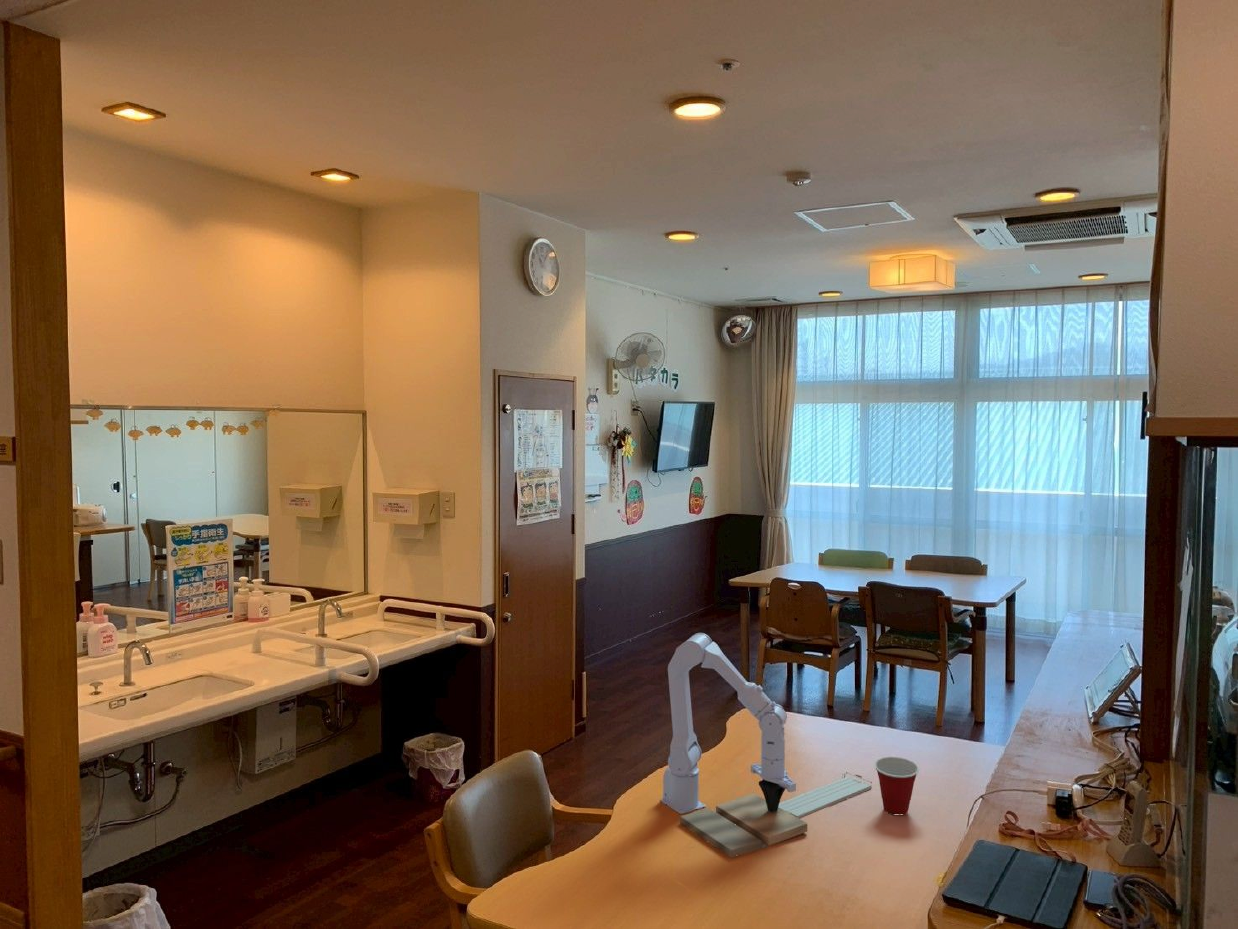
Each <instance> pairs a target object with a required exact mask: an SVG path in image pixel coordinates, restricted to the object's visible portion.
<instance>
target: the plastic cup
mask: <svg viewBox="0 0 1238 929" xmlns="http://www.w3.org/2000/svg"><path fill="white" fill-rule="evenodd" d="M874 767H875V770H876V771H877V777H878V781H879V788H880V795H881V798H882V800H881V801H882V806H883V809H884V810H885V811H884V810H883V811H884V812H886V813H887V812H888V813H887V814H889V813H890V814H889V815H892V814H905V815H907V814H908V811H909V808H910V804H911V800H912V795H913V791H914V790H913V789H914V785H915V781H916V777H917V774H918V773H919V771H920V767H919V765H918V764H917V763H915V762H914V761H912V760H910V759H908V758H903V757H899V756H886V757H885V756H884V757H880V758H878V759H877V760H875V761H874ZM906 813H907V814H906Z"/></svg>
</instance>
